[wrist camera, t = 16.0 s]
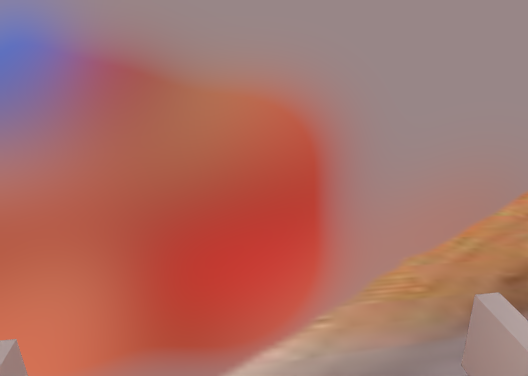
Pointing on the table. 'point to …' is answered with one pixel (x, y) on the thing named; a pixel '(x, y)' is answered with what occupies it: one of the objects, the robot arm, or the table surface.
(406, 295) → the table surface
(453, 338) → the table surface
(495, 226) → the table surface
